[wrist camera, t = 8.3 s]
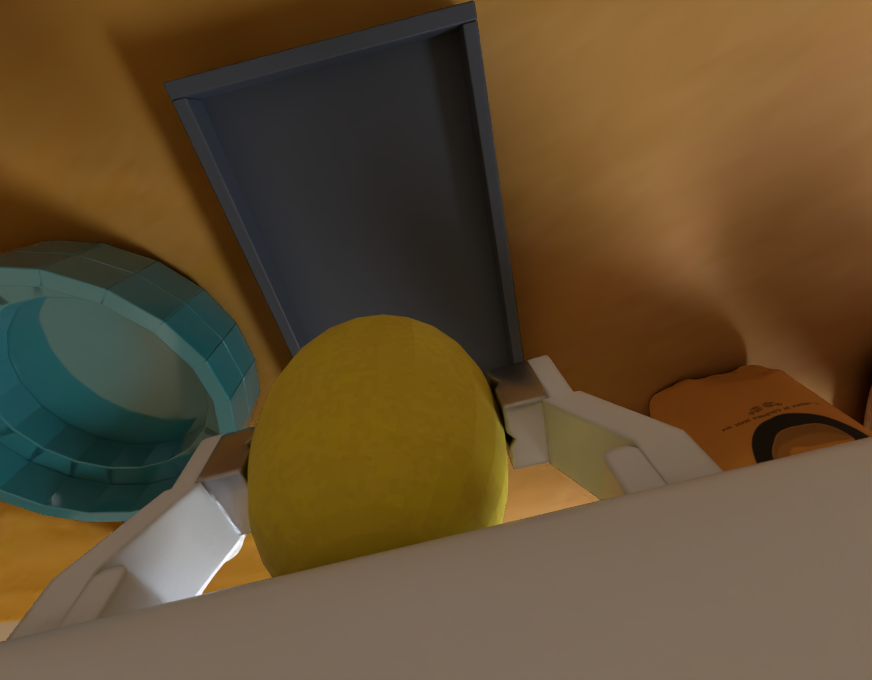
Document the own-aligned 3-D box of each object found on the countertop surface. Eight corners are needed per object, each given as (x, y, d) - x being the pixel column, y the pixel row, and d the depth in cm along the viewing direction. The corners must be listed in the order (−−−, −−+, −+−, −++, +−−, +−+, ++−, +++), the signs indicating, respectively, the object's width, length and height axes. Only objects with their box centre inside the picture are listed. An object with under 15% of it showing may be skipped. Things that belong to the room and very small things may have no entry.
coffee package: (783, 343, 26) (1893, 948, 7) (758, 471, 32) (1314, 989, 13) (635, 383, 27) (1290, 1063, 7) (638, 502, 32) (1000, 1051, 13)
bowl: (-108, 279, 19) (-238, 318, 15) (181, 205, 19) (124, 225, 15) (86, 483, 26) (31, 547, 22) (299, 432, 26) (282, 486, 22)
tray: (186, 87, 17) (161, 82, 15) (466, 13, 16) (474, -1, 15) (338, 426, 26) (335, 447, 24) (520, 382, 26) (529, 400, 24)
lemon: (262, 312, 12) (60, 593, 5) (438, 245, 11) (516, 439, 4) (345, 442, 14) (299, 749, 7) (491, 392, 14) (594, 665, 7)
